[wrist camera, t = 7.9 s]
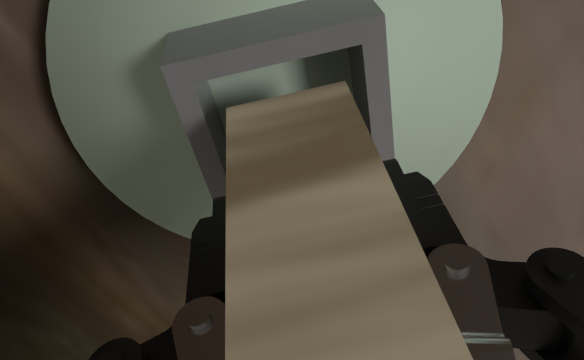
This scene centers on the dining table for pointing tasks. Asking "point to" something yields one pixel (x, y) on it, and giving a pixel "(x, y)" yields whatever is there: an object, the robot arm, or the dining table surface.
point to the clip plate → (259, 83)
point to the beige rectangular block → (323, 241)
